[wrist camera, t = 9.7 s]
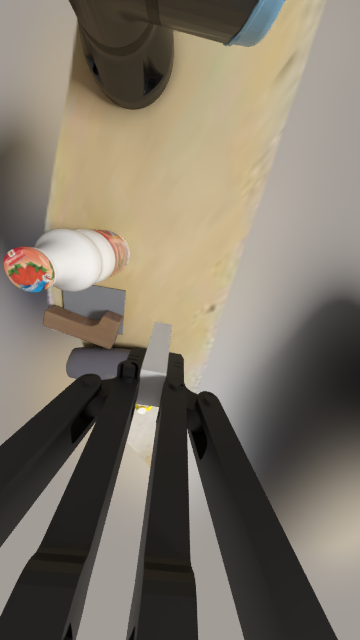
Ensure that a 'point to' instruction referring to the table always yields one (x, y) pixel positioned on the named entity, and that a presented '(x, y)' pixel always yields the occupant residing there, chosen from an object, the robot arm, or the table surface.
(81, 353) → the bluetooth speaker
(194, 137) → the table surface
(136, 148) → the table surface
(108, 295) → the mat
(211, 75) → the table surface
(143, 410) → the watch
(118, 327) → the wooden block
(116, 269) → the fruit juice
